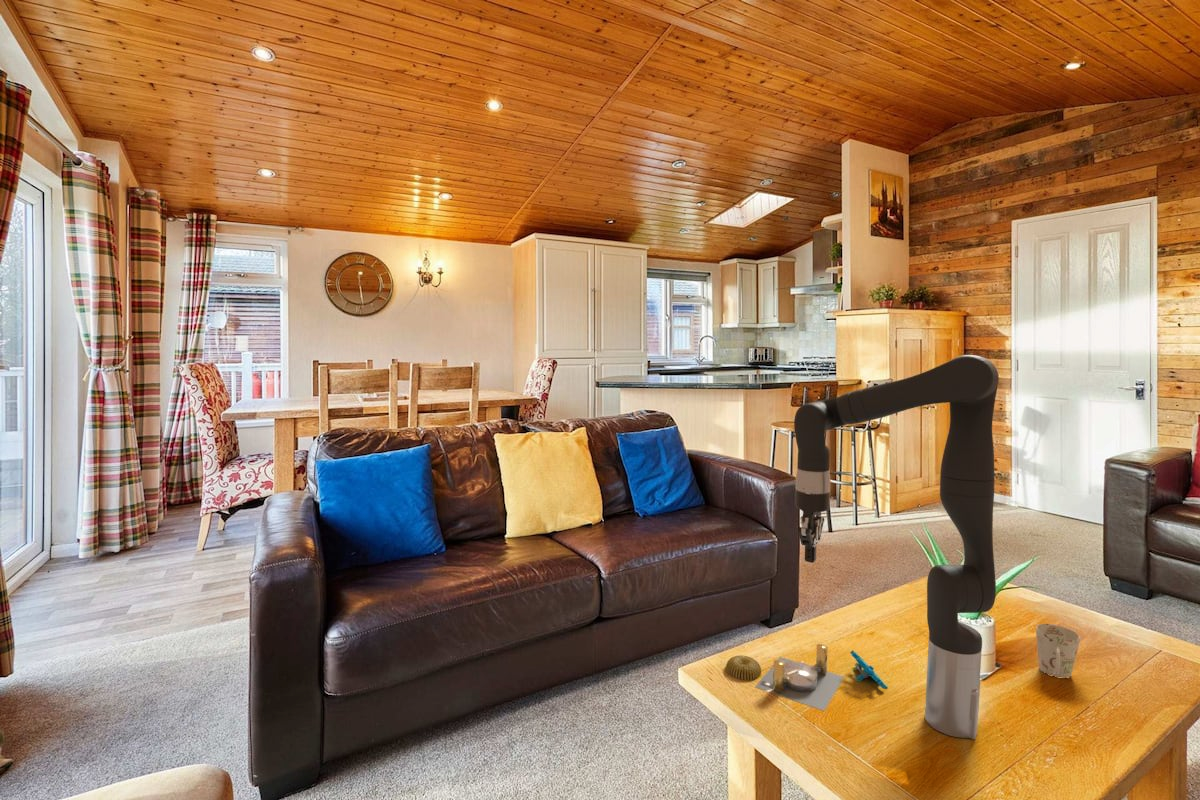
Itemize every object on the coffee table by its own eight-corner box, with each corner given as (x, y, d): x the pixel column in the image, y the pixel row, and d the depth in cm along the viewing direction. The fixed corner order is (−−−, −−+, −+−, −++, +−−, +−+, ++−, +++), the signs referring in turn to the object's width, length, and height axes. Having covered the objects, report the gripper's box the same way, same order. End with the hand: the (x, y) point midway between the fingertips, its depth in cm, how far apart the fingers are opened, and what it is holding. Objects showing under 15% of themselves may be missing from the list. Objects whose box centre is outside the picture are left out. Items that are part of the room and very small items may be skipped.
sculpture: (768, 661, 140) (748, 674, 135) (767, 678, 140) (747, 691, 135) (739, 648, 146) (719, 660, 141) (739, 664, 146) (718, 676, 141)
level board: (845, 680, 139) (845, 673, 139) (823, 718, 125) (823, 711, 125) (781, 660, 148) (781, 654, 148) (754, 694, 134) (754, 687, 134)
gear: (896, 693, 131) (862, 658, 132) (876, 711, 132) (842, 676, 133) (879, 673, 142) (848, 640, 143) (861, 690, 142) (830, 657, 144)
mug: (1074, 669, 144) (1077, 629, 143) (1082, 695, 134) (1085, 651, 133) (1032, 659, 149) (1034, 620, 148) (1036, 683, 138) (1038, 641, 137)
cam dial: (810, 662, 144) (811, 638, 143) (839, 678, 137) (840, 652, 136) (761, 681, 135) (761, 656, 135) (788, 699, 128) (789, 673, 128)
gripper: (805, 481, 147) (802, 550, 148) (787, 491, 136) (784, 566, 137) (837, 485, 142) (834, 556, 144) (821, 496, 132) (818, 573, 133)
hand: (810, 561), depth 141 cm, fingers closed
